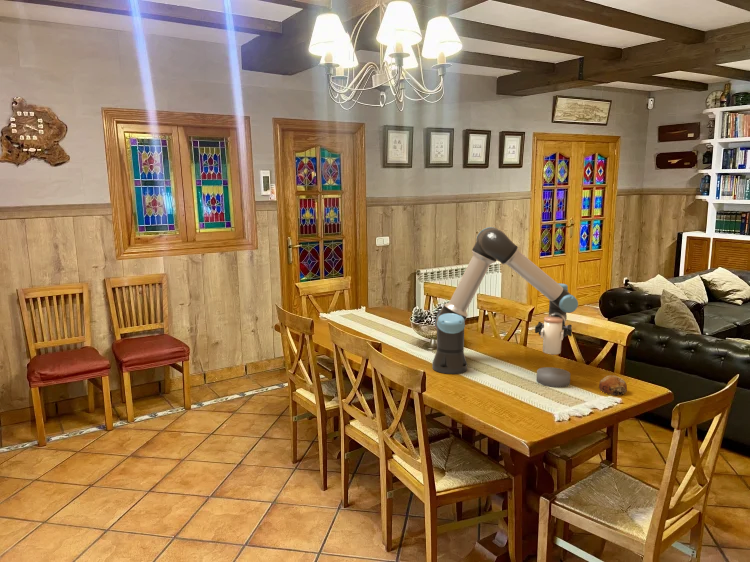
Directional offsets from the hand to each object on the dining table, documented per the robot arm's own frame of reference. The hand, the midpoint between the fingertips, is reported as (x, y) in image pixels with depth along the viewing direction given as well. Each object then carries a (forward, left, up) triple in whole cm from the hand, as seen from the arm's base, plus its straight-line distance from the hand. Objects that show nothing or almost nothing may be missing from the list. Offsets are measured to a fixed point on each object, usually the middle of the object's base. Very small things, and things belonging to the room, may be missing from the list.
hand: (551, 335), depth 219 cm
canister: (+3, +4, -8) cm, 9 cm away
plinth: (+4, +3, -20) cm, 21 cm away
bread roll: (+20, -12, -21) cm, 32 cm away
